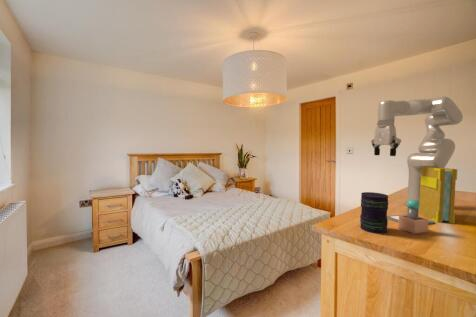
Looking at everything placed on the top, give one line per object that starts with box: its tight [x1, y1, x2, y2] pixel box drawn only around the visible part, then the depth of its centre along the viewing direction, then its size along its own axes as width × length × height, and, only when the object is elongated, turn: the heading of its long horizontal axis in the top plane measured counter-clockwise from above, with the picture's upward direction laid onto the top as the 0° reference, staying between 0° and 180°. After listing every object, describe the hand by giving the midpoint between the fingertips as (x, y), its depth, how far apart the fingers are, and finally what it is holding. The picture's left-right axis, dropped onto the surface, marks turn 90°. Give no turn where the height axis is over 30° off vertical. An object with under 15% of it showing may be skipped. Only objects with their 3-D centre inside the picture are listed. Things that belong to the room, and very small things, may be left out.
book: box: [418, 166, 459, 224], centre depth 108 cm, size 17×7×25 cm, turn 168°
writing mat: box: [387, 213, 436, 225], centre depth 104 cm, size 15×12×1 cm
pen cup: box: [398, 214, 429, 235], centre depth 91 cm, size 7×7×6 cm
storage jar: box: [359, 191, 389, 235], centre depth 92 cm, size 10×10×15 cm
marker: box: [406, 199, 419, 220], centre depth 91 cm, size 4×4×12 cm
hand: (384, 155), depth 120 cm, fingers open, 9 cm apart
